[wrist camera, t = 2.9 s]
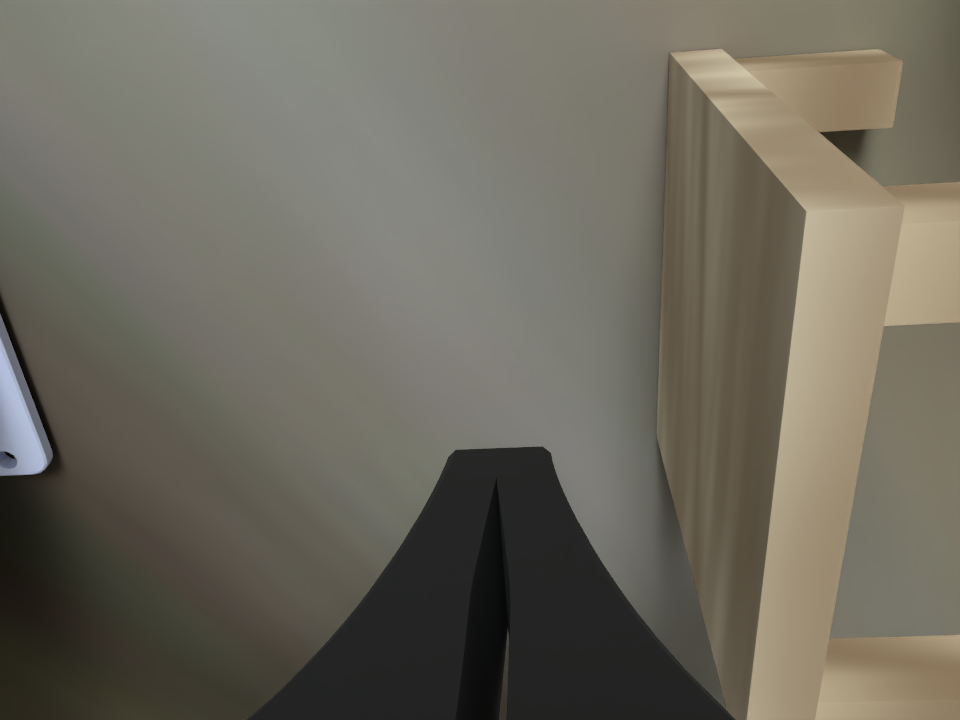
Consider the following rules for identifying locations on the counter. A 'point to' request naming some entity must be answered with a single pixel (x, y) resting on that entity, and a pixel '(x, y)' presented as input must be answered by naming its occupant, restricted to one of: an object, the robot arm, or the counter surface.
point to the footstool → (790, 368)
